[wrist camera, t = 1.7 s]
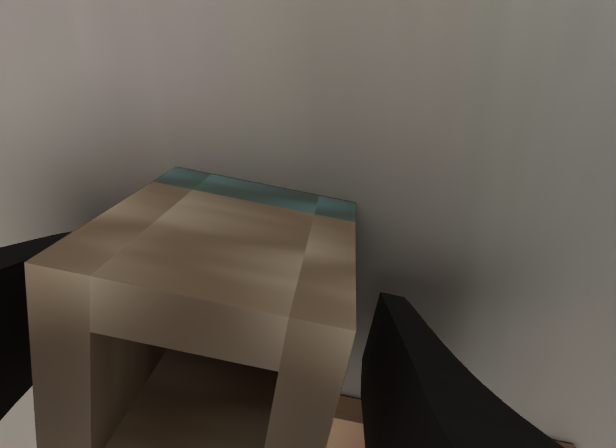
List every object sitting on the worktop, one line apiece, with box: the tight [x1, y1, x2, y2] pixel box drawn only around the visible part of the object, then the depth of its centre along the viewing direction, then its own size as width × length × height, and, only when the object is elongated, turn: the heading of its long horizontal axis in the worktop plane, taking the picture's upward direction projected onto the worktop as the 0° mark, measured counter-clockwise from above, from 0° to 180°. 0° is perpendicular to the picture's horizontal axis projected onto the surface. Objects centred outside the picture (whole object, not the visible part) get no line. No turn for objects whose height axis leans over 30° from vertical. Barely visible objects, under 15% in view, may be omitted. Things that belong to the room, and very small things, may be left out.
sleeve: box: [24, 167, 356, 448], centre depth 10 cm, size 5×5×6 cm
